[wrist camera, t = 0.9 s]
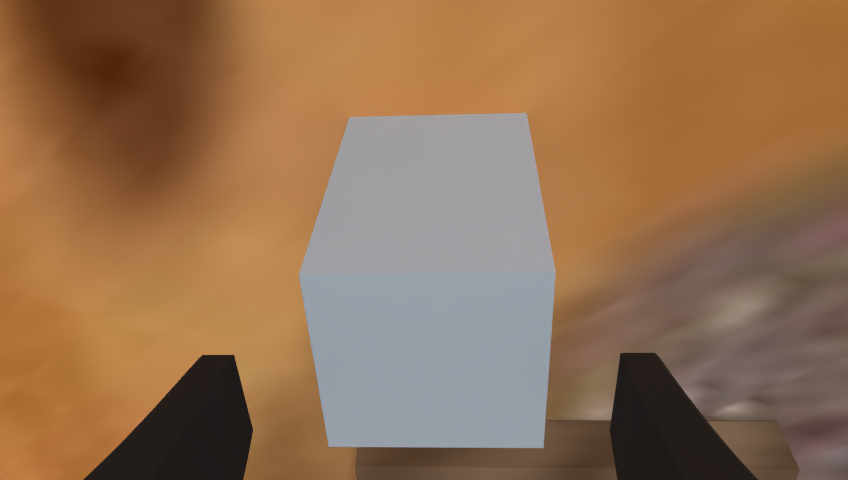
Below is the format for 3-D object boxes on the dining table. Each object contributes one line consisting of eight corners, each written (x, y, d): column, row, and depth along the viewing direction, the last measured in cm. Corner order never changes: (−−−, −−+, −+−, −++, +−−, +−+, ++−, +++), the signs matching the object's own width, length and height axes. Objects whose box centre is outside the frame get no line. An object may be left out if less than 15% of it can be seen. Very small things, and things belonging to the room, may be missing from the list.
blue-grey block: (526, 112, 19) (555, 272, 13) (521, 259, 21) (543, 448, 15) (349, 116, 19) (299, 274, 13) (365, 260, 21) (328, 446, 16)
